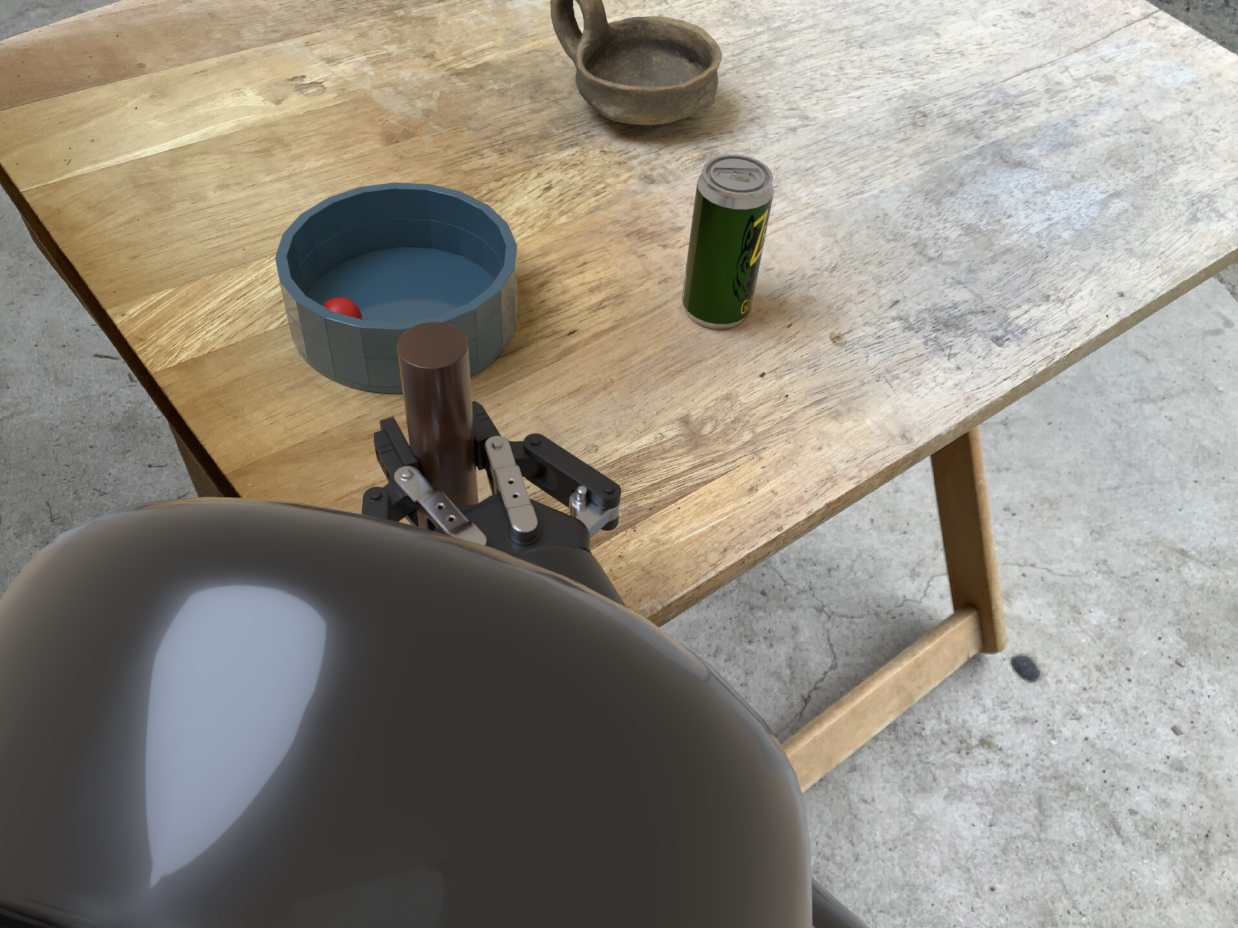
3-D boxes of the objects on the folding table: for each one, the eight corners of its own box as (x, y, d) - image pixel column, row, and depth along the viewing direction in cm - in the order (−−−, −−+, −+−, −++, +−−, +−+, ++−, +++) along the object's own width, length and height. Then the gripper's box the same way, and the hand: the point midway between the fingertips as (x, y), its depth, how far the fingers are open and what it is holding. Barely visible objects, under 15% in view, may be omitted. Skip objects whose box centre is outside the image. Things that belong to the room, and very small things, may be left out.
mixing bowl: (306, 413, 74) (292, 347, 70) (278, 264, 84) (263, 199, 80) (542, 370, 78) (543, 306, 74) (488, 234, 88) (485, 170, 84)
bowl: (665, 168, 96) (676, 62, 89) (511, 100, 102) (509, -5, 95) (745, 106, 104) (761, 4, 97) (597, 46, 110) (602, -55, 103)
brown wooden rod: (433, 606, 61) (403, 374, 48) (422, 563, 63) (391, 327, 50) (489, 594, 62) (475, 361, 49) (476, 551, 64) (459, 316, 51)
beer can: (678, 327, 82) (696, 192, 73) (683, 282, 86) (701, 148, 77) (749, 335, 82) (776, 201, 73) (751, 290, 86) (777, 157, 77)
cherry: (315, 312, 75) (351, 288, 76) (305, 312, 78) (339, 289, 79) (341, 348, 76) (375, 324, 77) (330, 347, 79) (363, 324, 80)
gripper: (718, 568, 47) (544, 326, 56) (405, 698, 42) (274, 408, 51) (699, 662, 52) (544, 426, 62) (421, 786, 47) (300, 509, 57)
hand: (422, 419), depth 57 cm, fingers closed on brown wooden rod, 3 cm apart
